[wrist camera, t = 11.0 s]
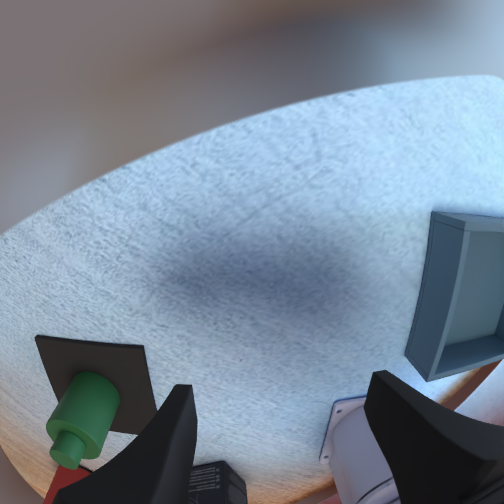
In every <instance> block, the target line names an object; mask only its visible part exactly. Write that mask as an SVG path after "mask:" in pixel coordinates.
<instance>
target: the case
mask: <svg viewBox="0 0 504 504" xmlns="http://www.w3.org/2000/svg"><path fill="white" fill-rule="evenodd" d="M405 357H406V358H407V359H408V360H409V362H410V363H411V364H412V365H413V366H414V368H415V369H416V370H417V371H418V373H419V374H420V375H421V376H422V377H423V379H424V380H425V381H426V382H429V381H433V380H437V379H441V378H444V377H448V376H452V375H455V374H458V373H462V372H465V371H468V370H472V369H475V368H478V367H481V366H484V365H487V364H489V363H492V362H495V361H498V360H501V359H504V218H498V217H489V216H479V215H469V214H458V213H447V212H434V211H432V215H431V224H430V233H429V241H428V248H427V255H426V261H425V267H424V273H423V279H422V284H421V289H420V294H419V299H418V304H417V309H416V313H415V317H414V321H413V326H412V330H411V334H410V337H409V341H408V345H407V349H406V352H405Z"/></svg>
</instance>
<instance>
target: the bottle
mask: <svg viewBox="0 0 504 504" xmlns="http://www.w3.org/2000/svg"><path fill="white" fill-rule="evenodd" d="M119 403H120V395H119V393H118V391H117V389H116V388H115V386H114V385H113V384H112V383H111V382H110V381H109V380H107V379H106V378H105V377H103V376H101V375H99V374H97V373H93V372H81V373H78V374H77V375H76V376H75V377H74V379H73V381H72V382H71V384H70V385H69V387H68V389H67V390H66V392H65V393H64V395H63V397H62V398H61V400H60V402H59V403H58V405H57V406H56V408H55V410H54V411H53V413H52V415H51V417H50V418H49V420H48V422H47V424H46V430H47V433H48V435H49V436H50V438H51V439H52V440H53V441H54V443H53V445H52V447H51V449H50V452H49V453H50V456H51V457H52V458H53V460H55V461H56V462H57V463H58V464H60V465H61V466H63V467H65V468H68V469H72V470H75V469H77V468H78V466H79V464H80V461H81V459H82V458H83V459H95V458H97V457H98V456H99V455H100V453H101V450H102V447H103V445H104V442H105V439H106V437H107V434H108V431H109V429H110V426H111V424H112V421H113V419H114V416H115V414H116V411H117V409H118V406H119Z"/></svg>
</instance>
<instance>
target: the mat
mask: <svg viewBox="0 0 504 504" xmlns="http://www.w3.org/2000/svg"><path fill="white" fill-rule="evenodd" d="M35 341H36V344H37V347H38V350H39V353H40V356H41V359H42V362H43V365H44V368H45V370H46V373H47V376H48V378H49V381H50V383H51V386H52V388H53V391H54V393H55V395H56V398H57V400H58V402H60V400H61V398H62V397H63V395H64V393H65V392H66V390H67V389H68V387H69V385H70V384H71V382H72V381H73V379H74V377H75V376H76V375H77V374H78V373H81V372H93V373H97V374H99V375H101V376H103V377H105V378H106V379H107V380H109V381H110V382H111V383H112V384H113V385H114V386H115V388H116V389H117V391H118V393H119V395H120V403H119V406H118V409H117V411H116V414H115V416H114V419H113V421H112V424H111V426H110V429H109V431H114V432H121V433H128V434H135V435H139V434H140V432H141V431H142V430H143V429H144V428H145V427H146V425H147V424H148V423H149V422H150V421H151V419H152V418H153V417H154V415H155V414H156V413H157V409H156V405H155V400H154V396H153V392H152V387H151V382H150V378H149V373H148V368H147V363H146V357H145V352H144V347H143V346H136V345H122V344H109V343H98V342H88V341H79V340H70V339H62V338H55V337H47V336H40V335H36V337H35Z"/></svg>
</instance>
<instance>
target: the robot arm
mask: <svg viewBox="0 0 504 504" xmlns="http://www.w3.org/2000/svg"><path fill="white" fill-rule="evenodd" d="M337 410H338V411H337ZM196 442H197V414H196V408H195V401H194V395H193V388H192V385H185V384H176V385H175V386H174V387H173V389H172V391H171V392H170V394H169V395H168V397H167V398H166V400H165V402H164V403H163V404H162V406H161V407H160V409H159V410H158V411H157V413H156V414H155V415H154V417H153V418H152V419H151V421H150V422H149V423H148V424H147V425H146V427H145V428H144V429H143V430H142V431H141V432H140V434H139V435H138V436H137V437H136V438H135V439H134V440H133V441H132V442H131V443H130V444H129V445H128V446H127V447H126V448H125V449H124V450H122V451H121V452H120V453H119V454H118V455H116V456H115V457H114V458H113V459H111V460H110V461H109V462H108V463H106V464H105V465H103V466H102V467H100V468H99V469H97V470H96V471H94V472H92V473H91V474H89V475H88V476H86V477H84V478H82V479H81V480H79V481H76V482H74V483H72V484H70V485H68V486H66V487H64V488H61V489H59V490H58V492H57V494H56V495H55V497H54V499H53V502H52V504H188V492H189V484H190V478H191V472H192V466H193V460H194V454H195V448H196ZM319 463H320V464H322V465H324V464H329V465H330V468H331V471H332V474H333V478H334V481H335V484H336V487H337V490H338V493H339V497H340V500H341V503H342V504H504V426H499V425H494V424H489V423H485V422H481V421H478V420H475V419H472V418H469V417H466V416H463V415H461V414H459V413H456V412H454V411H451V410H450V409H447V408H445V407H444V406H442V405H440V404H438V403H436V402H435V401H433V400H431V399H429V398H428V397H426V396H424V395H423V394H421V393H420V392H418V391H417V390H415V389H414V388H412V387H411V386H409V385H408V384H406V383H405V382H403V381H402V380H400V379H399V378H397V377H396V376H394V375H393V374H391V373H390V372H388V371H387V370H383V371H377V372H373V374H372V378H371V381H370V385H369V389H368V393H367V396H366V397H363V398H357V399H350V400H343V401H338V402H336V403H335V404H334V407H333V411H332V415H331V419H330V423H329V427H328V431H327V434H326V438H325V442H324V445H323V449H322V452H321V456H320V459H319Z"/></svg>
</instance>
